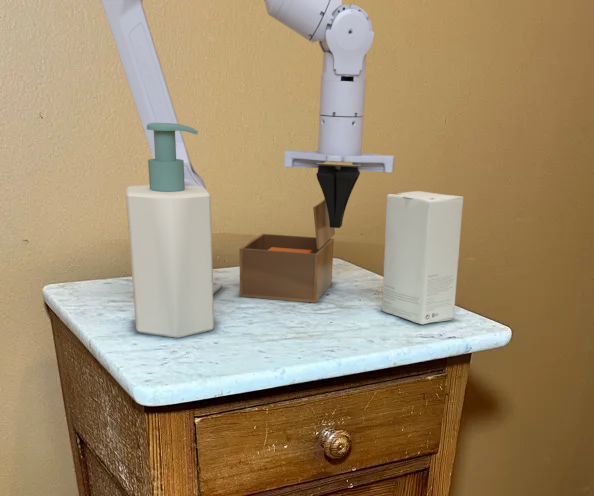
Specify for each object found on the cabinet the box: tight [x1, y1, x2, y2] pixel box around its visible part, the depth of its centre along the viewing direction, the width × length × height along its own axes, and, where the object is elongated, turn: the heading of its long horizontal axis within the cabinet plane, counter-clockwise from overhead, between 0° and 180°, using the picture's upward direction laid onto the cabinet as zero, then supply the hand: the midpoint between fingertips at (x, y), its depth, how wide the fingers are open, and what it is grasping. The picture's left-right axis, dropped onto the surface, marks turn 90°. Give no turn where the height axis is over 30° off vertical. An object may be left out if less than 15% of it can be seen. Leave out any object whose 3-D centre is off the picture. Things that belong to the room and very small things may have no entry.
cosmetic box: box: [381, 190, 465, 325], centre depth 97 cm, size 8×6×15 cm
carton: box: [239, 233, 335, 304], centre depth 110 cm, size 12×11×6 cm
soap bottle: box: [125, 123, 215, 339], centre depth 88 cm, size 10×9×22 cm
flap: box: [312, 198, 336, 249], centre depth 105 cm, size 12×5×1 cm
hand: (335, 226), depth 106 cm, fingers closed
